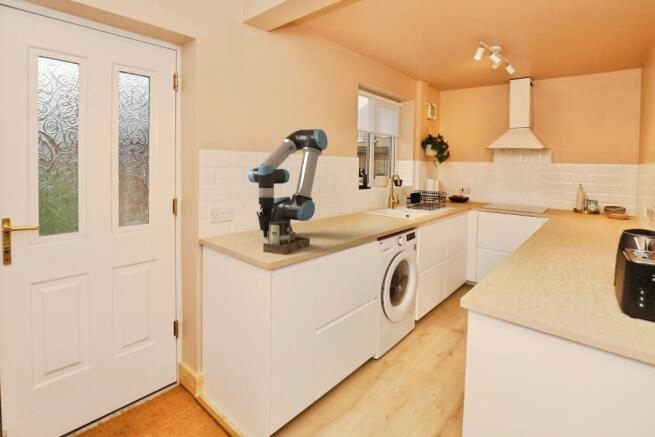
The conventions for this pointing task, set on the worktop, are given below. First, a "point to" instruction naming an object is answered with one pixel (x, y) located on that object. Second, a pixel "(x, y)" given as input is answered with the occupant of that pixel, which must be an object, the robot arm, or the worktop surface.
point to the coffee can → (279, 232)
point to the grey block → (292, 235)
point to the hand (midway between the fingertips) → (267, 243)
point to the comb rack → (287, 246)
